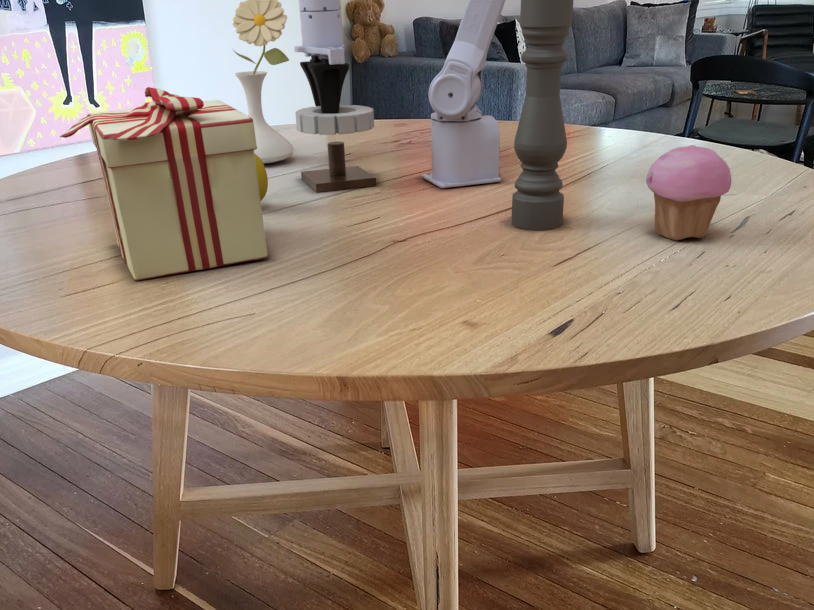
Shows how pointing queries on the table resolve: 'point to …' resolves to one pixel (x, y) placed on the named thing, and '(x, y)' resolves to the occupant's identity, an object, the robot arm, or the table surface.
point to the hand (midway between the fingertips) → (327, 113)
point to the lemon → (261, 177)
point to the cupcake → (687, 190)
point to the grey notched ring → (335, 120)
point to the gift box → (180, 183)
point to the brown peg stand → (337, 173)
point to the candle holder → (541, 116)
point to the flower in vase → (260, 26)
